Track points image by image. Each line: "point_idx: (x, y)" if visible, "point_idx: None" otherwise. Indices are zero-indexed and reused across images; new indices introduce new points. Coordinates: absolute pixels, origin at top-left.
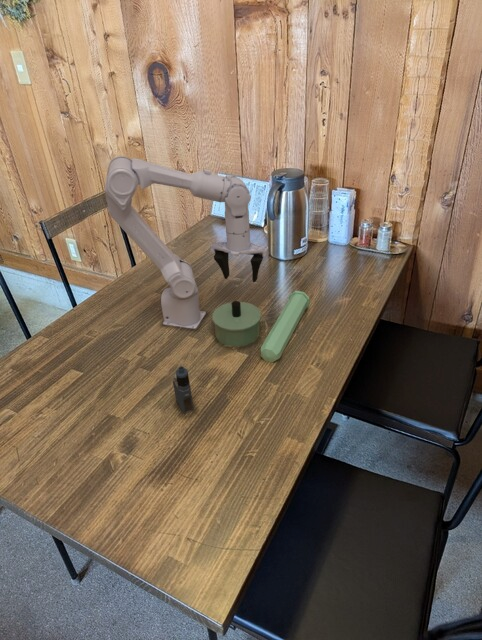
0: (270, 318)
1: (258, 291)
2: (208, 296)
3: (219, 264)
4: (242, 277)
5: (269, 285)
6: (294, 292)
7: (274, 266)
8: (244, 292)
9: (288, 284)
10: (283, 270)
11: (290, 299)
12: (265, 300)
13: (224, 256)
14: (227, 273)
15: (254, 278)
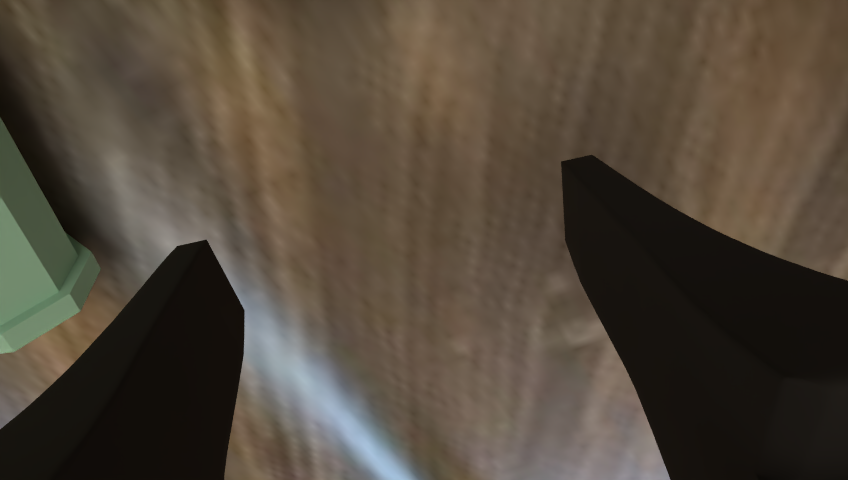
0: (121, 61)
1: (401, 289)
2: (710, 110)
3: (771, 271)
4: (559, 355)
5: (372, 356)
6: (8, 330)
7: (438, 474)
8: (480, 248)
9: (279, 399)
10: (377, 468)
11: (2, 259)
12: (303, 232)
13: (744, 470)
14: (582, 231)
15: (156, 275)
